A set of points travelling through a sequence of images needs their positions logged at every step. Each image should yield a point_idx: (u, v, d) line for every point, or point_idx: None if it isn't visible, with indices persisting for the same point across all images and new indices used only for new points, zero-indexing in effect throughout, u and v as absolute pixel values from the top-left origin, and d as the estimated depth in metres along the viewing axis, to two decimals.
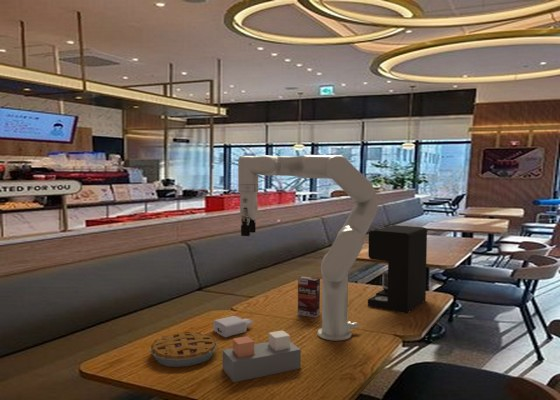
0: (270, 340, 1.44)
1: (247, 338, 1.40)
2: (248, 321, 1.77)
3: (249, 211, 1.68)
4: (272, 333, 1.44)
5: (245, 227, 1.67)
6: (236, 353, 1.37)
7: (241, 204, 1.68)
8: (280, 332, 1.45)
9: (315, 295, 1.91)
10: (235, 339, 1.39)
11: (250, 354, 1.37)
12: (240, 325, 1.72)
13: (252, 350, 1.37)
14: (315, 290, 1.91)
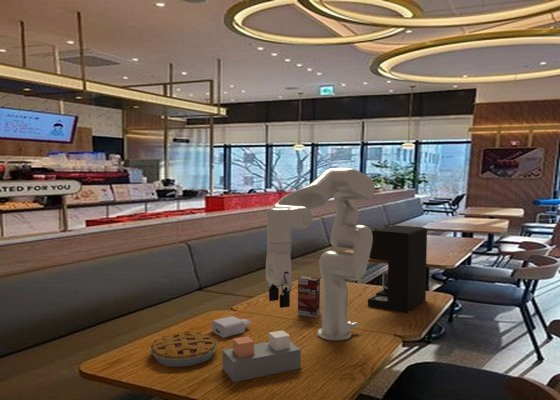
0: (270, 340, 1.44)
1: (247, 338, 1.40)
2: (246, 321, 1.77)
3: None
4: (272, 333, 1.44)
5: None
6: (236, 353, 1.37)
7: None
8: (280, 332, 1.45)
9: (315, 295, 1.91)
10: (235, 339, 1.39)
11: (250, 354, 1.37)
12: (238, 326, 1.71)
13: (252, 350, 1.37)
14: (315, 290, 1.91)
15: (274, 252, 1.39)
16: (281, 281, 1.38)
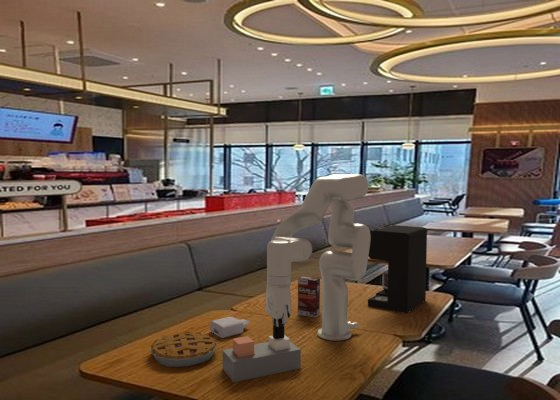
0: (270, 343, 1.44)
1: (247, 338, 1.40)
2: (245, 322, 1.77)
3: None
4: (272, 337, 1.44)
5: None
6: (236, 353, 1.37)
7: None
8: None
9: (315, 295, 1.91)
10: (235, 339, 1.39)
11: (250, 354, 1.37)
12: (237, 326, 1.71)
13: (252, 350, 1.37)
14: (315, 290, 1.91)
15: (273, 285, 1.40)
16: (281, 314, 1.38)
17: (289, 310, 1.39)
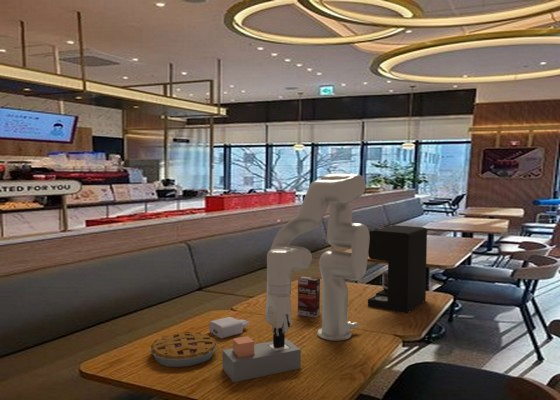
0: None
1: (247, 338, 1.40)
2: (244, 322, 1.76)
3: None
4: (272, 345, 1.45)
5: None
6: (236, 353, 1.37)
7: None
8: None
9: (315, 295, 1.91)
10: (235, 339, 1.39)
11: (250, 354, 1.37)
12: (236, 326, 1.71)
13: (252, 350, 1.37)
14: (315, 290, 1.91)
15: (273, 294, 1.40)
16: (281, 324, 1.38)
17: (289, 319, 1.39)
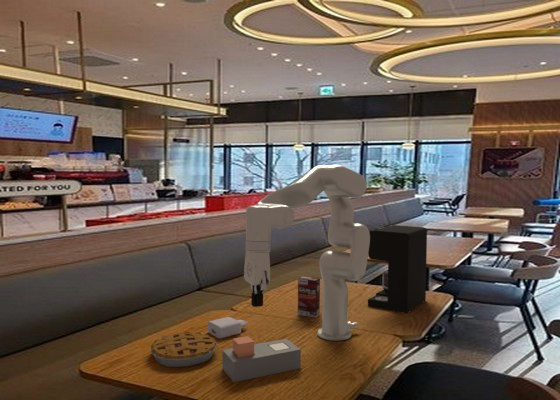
0: None
1: (247, 338, 1.40)
2: (243, 322, 1.76)
3: None
4: (272, 345, 1.45)
5: None
6: (236, 353, 1.37)
7: None
8: (280, 344, 1.46)
9: (315, 295, 1.91)
10: (235, 339, 1.39)
11: (250, 354, 1.37)
12: (234, 327, 1.70)
13: (252, 350, 1.37)
14: (315, 290, 1.91)
15: (252, 250, 1.36)
16: (259, 280, 1.34)
17: (268, 276, 1.35)
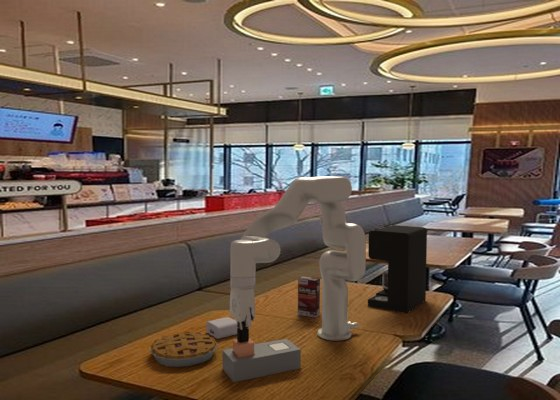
0: None
1: None
2: None
3: None
4: (272, 345, 1.45)
5: None
6: (236, 354, 1.37)
7: None
8: (280, 344, 1.46)
9: (315, 295, 1.91)
10: (235, 340, 1.39)
11: (250, 355, 1.37)
12: (233, 327, 1.70)
13: (252, 351, 1.37)
14: (315, 290, 1.91)
15: (236, 286, 1.34)
16: (244, 317, 1.33)
17: (252, 313, 1.34)
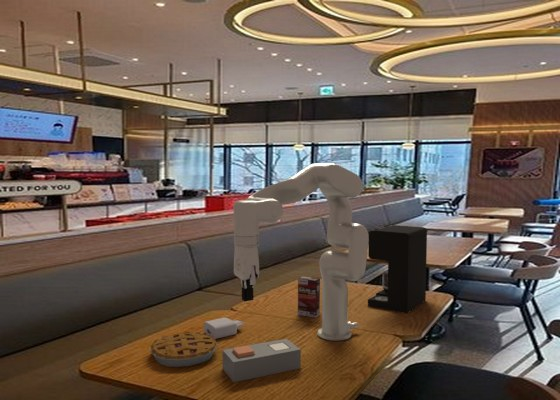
0: None
1: (247, 347, 1.40)
2: (239, 323, 1.75)
3: None
4: (272, 345, 1.45)
5: None
6: None
7: None
8: (280, 344, 1.46)
9: (315, 295, 1.91)
10: (235, 349, 1.39)
11: None
12: (230, 327, 1.70)
13: None
14: (315, 290, 1.91)
15: (240, 245, 1.36)
16: (248, 275, 1.35)
17: (257, 271, 1.36)
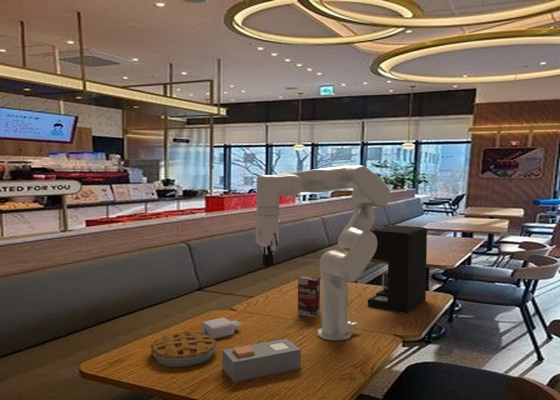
0: None
1: (247, 347, 1.40)
2: (237, 323, 1.75)
3: None
4: (272, 345, 1.45)
5: None
6: None
7: None
8: (280, 344, 1.46)
9: (315, 295, 1.91)
10: (235, 349, 1.39)
11: None
12: (227, 328, 1.69)
13: None
14: (315, 290, 1.91)
15: (262, 215, 1.51)
16: (269, 242, 1.49)
17: (277, 238, 1.51)
